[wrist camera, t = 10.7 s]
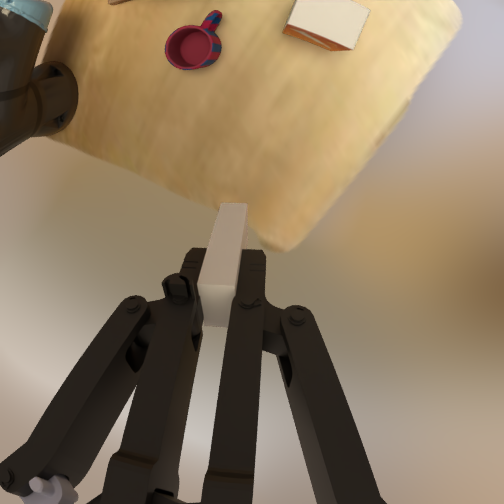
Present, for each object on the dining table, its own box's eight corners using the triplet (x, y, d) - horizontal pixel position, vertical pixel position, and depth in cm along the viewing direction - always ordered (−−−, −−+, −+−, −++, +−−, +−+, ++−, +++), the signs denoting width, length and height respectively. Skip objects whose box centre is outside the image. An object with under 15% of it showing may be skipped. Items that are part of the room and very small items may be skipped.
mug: (171, 53, 36) (155, 54, 31) (211, 6, 31) (200, -1, 26) (203, 75, 39) (192, 78, 33) (244, 29, 34) (240, 24, 28)
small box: (281, 33, 34) (285, 23, 24) (294, 0, 30) (303, -21, 20) (331, 52, 35) (354, 51, 25) (345, 20, 31) (372, 8, 21)
